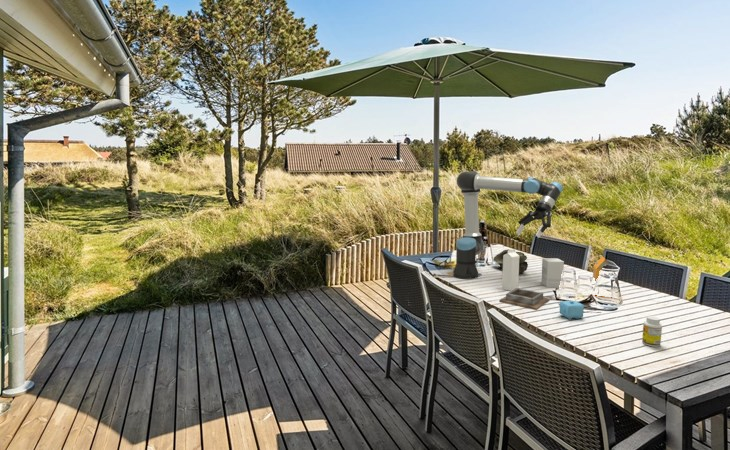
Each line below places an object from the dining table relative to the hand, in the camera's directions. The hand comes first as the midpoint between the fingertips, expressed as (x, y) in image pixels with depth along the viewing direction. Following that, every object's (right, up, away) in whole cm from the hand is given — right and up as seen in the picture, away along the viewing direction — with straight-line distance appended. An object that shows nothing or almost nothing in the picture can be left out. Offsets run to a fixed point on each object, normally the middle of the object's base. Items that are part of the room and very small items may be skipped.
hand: (527, 235), depth 220 cm
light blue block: (0, -35, -44) cm, 57 cm away
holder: (-11, -32, -22) cm, 41 cm away
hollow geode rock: (+5, -25, +39) cm, 46 cm away
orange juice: (+34, -31, -13) cm, 47 cm away
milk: (-10, -30, -1) cm, 32 cm away
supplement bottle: (+16, -39, -73) cm, 84 cm away
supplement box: (+16, -29, +5) cm, 33 cm away
